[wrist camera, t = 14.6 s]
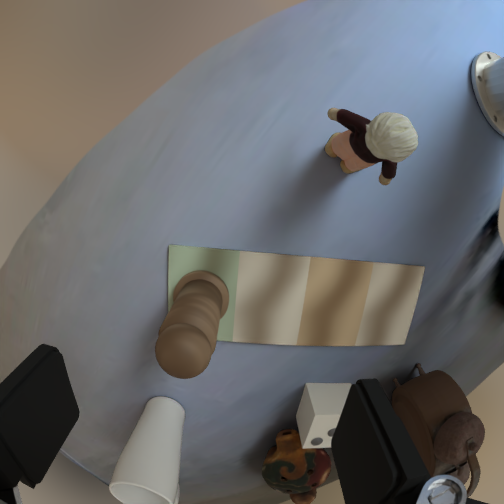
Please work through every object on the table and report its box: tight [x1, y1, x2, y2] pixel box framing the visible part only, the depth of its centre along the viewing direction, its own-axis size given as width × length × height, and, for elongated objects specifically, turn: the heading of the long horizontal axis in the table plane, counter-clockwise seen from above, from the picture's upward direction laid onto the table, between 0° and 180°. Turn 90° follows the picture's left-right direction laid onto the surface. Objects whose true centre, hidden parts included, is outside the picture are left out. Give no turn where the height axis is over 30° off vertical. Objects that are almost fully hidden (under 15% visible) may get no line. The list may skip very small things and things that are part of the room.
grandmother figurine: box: [325, 108, 418, 185], centre depth 21 cm, size 8×4×13 cm, turn 54°
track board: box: [168, 245, 425, 346], centre depth 31 cm, size 28×10×1 cm, turn 85°
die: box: [296, 383, 351, 449], centre depth 32 cm, size 6×6×6 cm
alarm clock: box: [392, 363, 485, 498], centre depth 25 cm, size 14×7×20 cm, turn 17°
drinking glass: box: [109, 396, 185, 504], centre depth 27 cm, size 7×7×15 cm
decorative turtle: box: [262, 429, 331, 504], centre depth 33 cm, size 10×15×8 cm, turn 20°
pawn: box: [155, 270, 229, 379], centre depth 24 cm, size 6×6×12 cm
